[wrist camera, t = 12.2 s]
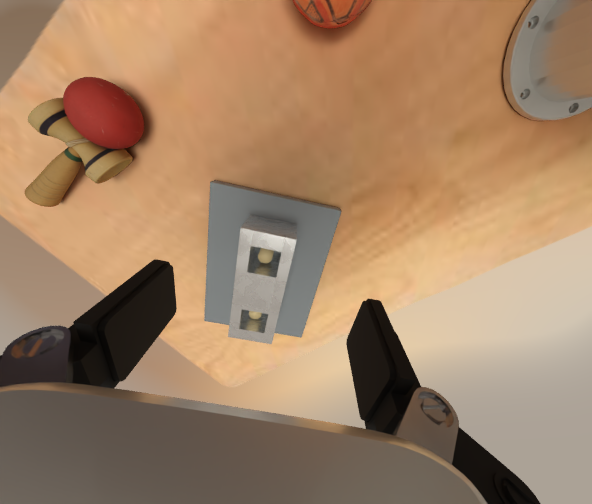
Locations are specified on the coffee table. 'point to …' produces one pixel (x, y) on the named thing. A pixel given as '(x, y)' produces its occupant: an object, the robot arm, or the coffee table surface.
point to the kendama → (85, 136)
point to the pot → (331, 11)
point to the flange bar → (260, 277)
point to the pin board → (303, 256)
